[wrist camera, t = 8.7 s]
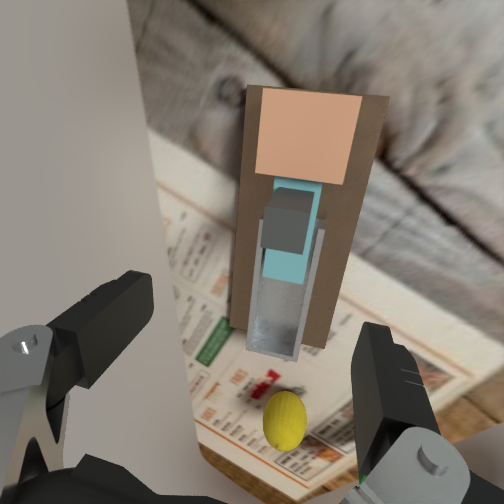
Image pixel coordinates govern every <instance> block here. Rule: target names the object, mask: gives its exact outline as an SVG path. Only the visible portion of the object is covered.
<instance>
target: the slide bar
mask: <svg viewBox="0 0 504 504" xmlns="http://www.w3.org/2000/svg"><path fill="white" fill-rule="evenodd" d="M322 184H323V182H318V181H310V180H303V179H296V178H289V177H281V176H275V180H274V188H273V196H272V197H271V199H270V200H269V201H268V203H267V204H266V205H265V209H264V218H263V227H262V235H261V244H260V247H261V248H266V253H265V261H264V269H263V277H267V278H272V279H277V280H282V281H287V282H292V283H297V284H302V285H303V282H304V277H305V271H306V266H307V261H308V256H309V251H310V246H311V241H312V235H313V230H314V225H315V220H316V215H317V210H318V205H319V199H320V194H321V189H322Z"/></svg>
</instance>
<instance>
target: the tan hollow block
mask: <svg viewBox="0 0 504 504" xmlns="http://www.w3.org/2000/svg"><path fill="white" fill-rule="evenodd" d="M361 101H362V96H353V95H342V94H330V93H318V92H306V91H295V90H283V89H271V88H263V94H262V105H261V116H260V126H259V137H258V147H257V158H256V169H255V173H260V174H267V175H274V176H281V177H289V178H296V179H303V180H310V181H318V182H325V183H332V184H339V185H343V181H344V177H345V172H346V168H347V163H348V159H349V154H350V150H351V145H352V141H353V136H354V132H355V128H356V123H357V119H358V114H359V110H360V105H361Z"/></svg>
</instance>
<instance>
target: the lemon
mask: <svg viewBox="0 0 504 504" xmlns="http://www.w3.org/2000/svg"><path fill="white" fill-rule="evenodd" d="M306 425H307V415H306V409H305V406H304V404H303V402H302V401H301V399H300V398H299V397H298V396H297V395H295V394H294V393H292V392H289V391H281V392H278V393H276V394H274V395H273V396H272V397H271V398H270V399H269V400H268V402H267V404H266V407H265V410H264V414H263V431H264V434H265V437H266V439H267V441H268V442H269V444H270V445H271V446H272V447H274V448H275V449H277V450H278V451H290V450H293V449H294V448H296V447H297V446H298V445H299V444H300V442H301V441H302V439H303V437H304V434H305V430H306Z"/></svg>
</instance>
